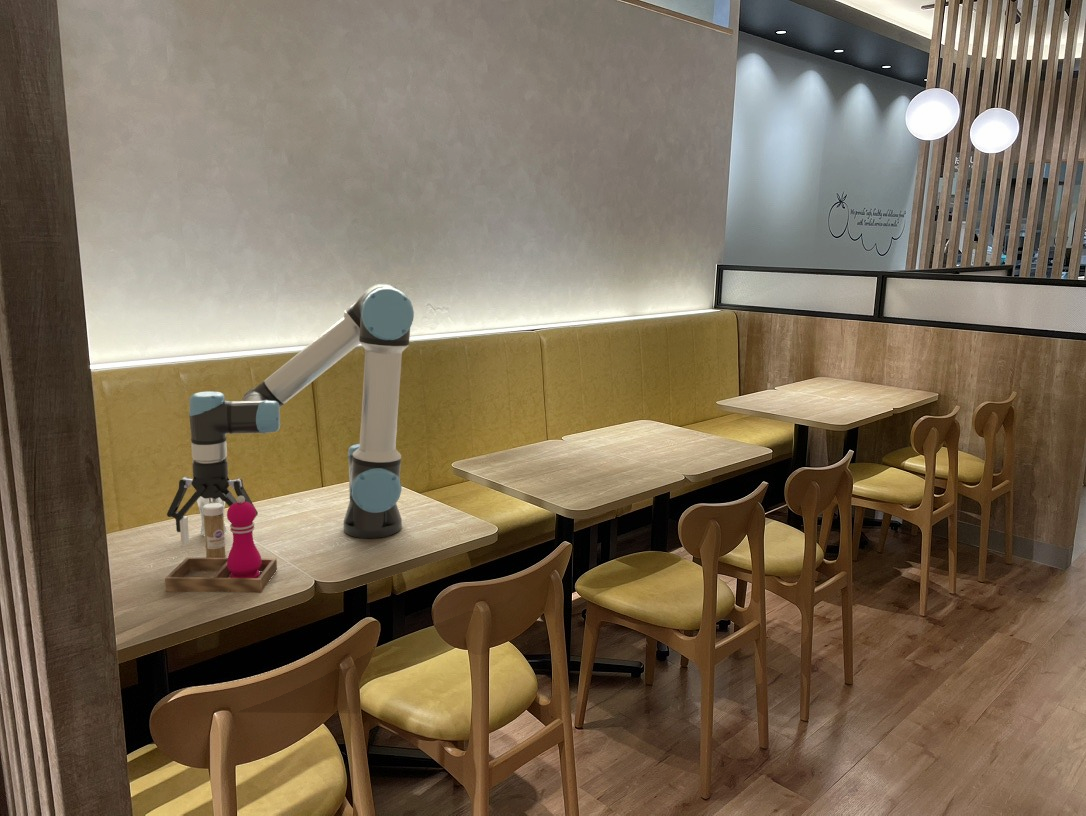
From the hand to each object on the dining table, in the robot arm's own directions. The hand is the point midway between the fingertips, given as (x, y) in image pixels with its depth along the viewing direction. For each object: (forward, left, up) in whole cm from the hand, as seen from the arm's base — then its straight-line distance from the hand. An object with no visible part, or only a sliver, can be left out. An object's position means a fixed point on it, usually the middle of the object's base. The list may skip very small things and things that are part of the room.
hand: (214, 545), depth 192 cm
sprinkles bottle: (0, 0, -4) cm, 4 cm away
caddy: (-6, +12, -4) cm, 14 cm away
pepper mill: (-11, +12, -4) cm, 17 cm away
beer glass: (+7, -17, -4) cm, 19 cm away
